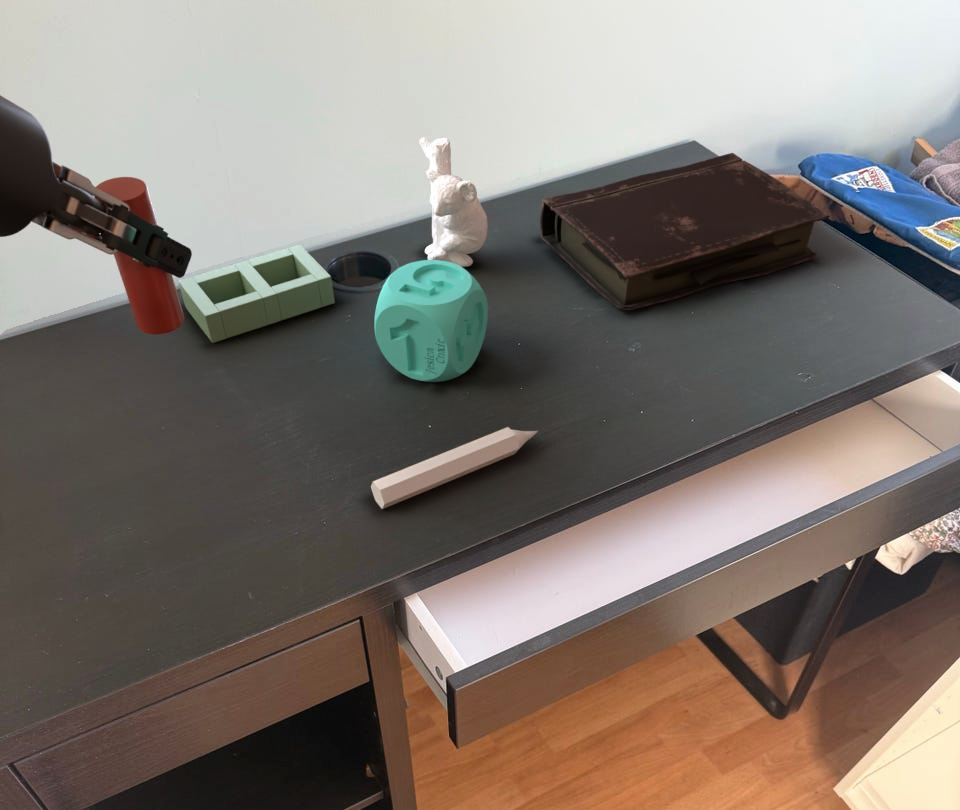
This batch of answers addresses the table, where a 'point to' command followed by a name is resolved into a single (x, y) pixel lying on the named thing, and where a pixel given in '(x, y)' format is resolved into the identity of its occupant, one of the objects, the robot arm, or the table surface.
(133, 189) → the peg
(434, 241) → the koala figurine
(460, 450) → the unpainted wooden pencil
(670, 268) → the diary
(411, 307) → the decorative dice
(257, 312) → the two-slot green holder
